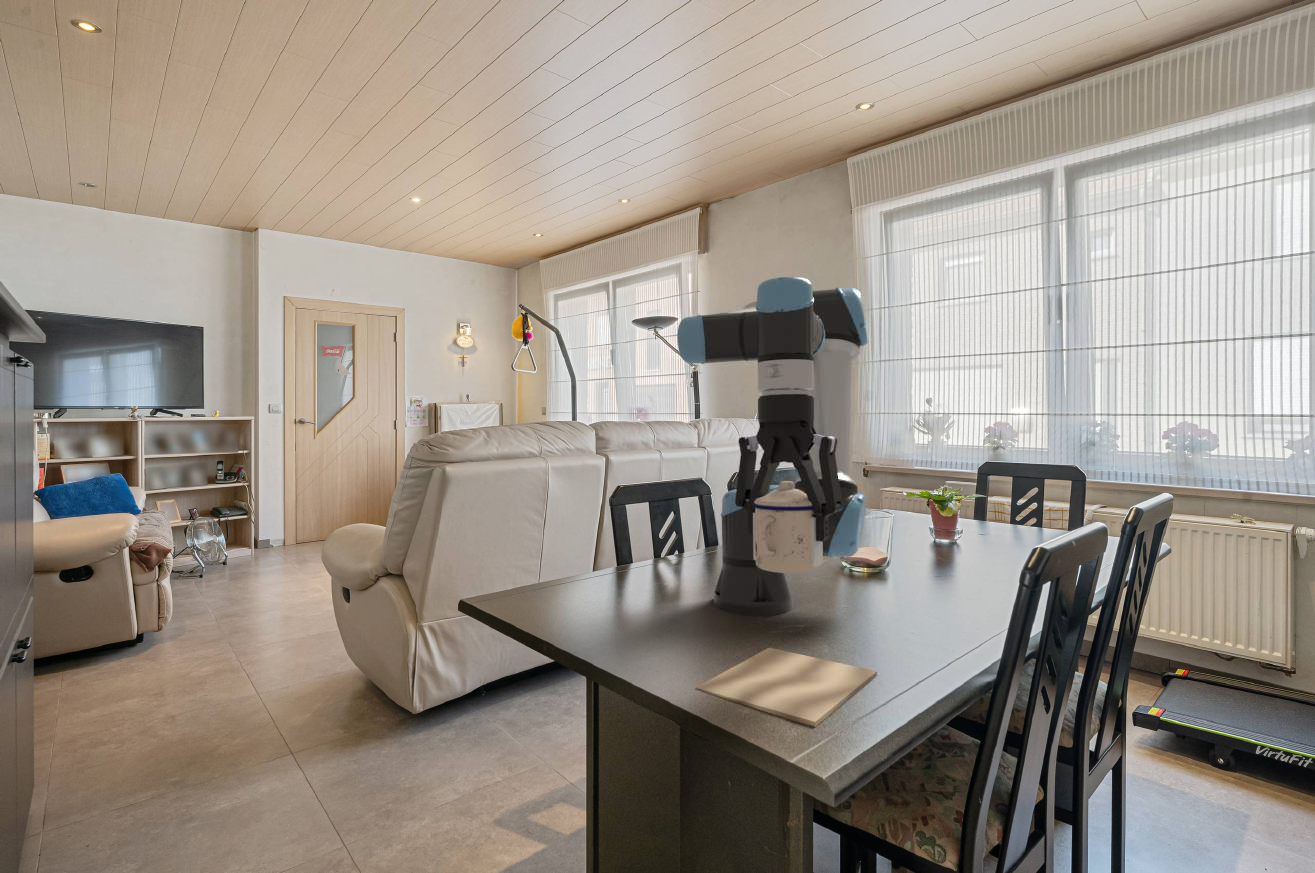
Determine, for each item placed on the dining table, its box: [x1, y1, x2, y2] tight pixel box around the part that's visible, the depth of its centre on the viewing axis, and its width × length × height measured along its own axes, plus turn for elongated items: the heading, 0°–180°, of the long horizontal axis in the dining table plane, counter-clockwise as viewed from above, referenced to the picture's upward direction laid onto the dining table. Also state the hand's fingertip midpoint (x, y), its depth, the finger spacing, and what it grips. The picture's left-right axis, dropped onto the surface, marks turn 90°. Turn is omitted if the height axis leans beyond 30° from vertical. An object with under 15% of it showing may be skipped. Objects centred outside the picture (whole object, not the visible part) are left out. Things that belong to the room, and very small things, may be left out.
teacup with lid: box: [753, 480, 821, 574], centre depth 88 cm, size 12×9×12 cm
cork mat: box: [695, 647, 878, 728], centre depth 89 cm, size 17×20×1 cm
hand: (787, 561), depth 89 cm, fingers closed on teacup with lid, 8 cm apart
